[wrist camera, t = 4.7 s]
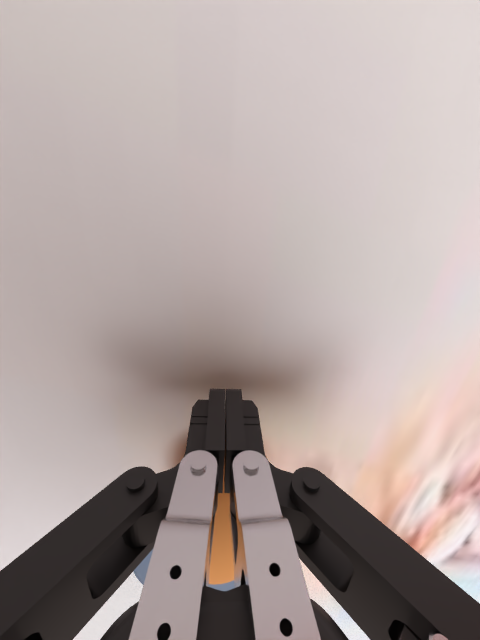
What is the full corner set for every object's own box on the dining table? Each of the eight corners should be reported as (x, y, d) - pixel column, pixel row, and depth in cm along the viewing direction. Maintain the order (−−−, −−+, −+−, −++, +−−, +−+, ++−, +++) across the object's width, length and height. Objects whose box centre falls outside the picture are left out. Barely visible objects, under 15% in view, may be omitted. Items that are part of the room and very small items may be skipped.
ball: (120, 560, 12) (154, 494, 17) (224, 653, 11) (224, 556, 17) (207, 449, 12) (213, 420, 18) (307, 533, 12) (281, 478, 18)
